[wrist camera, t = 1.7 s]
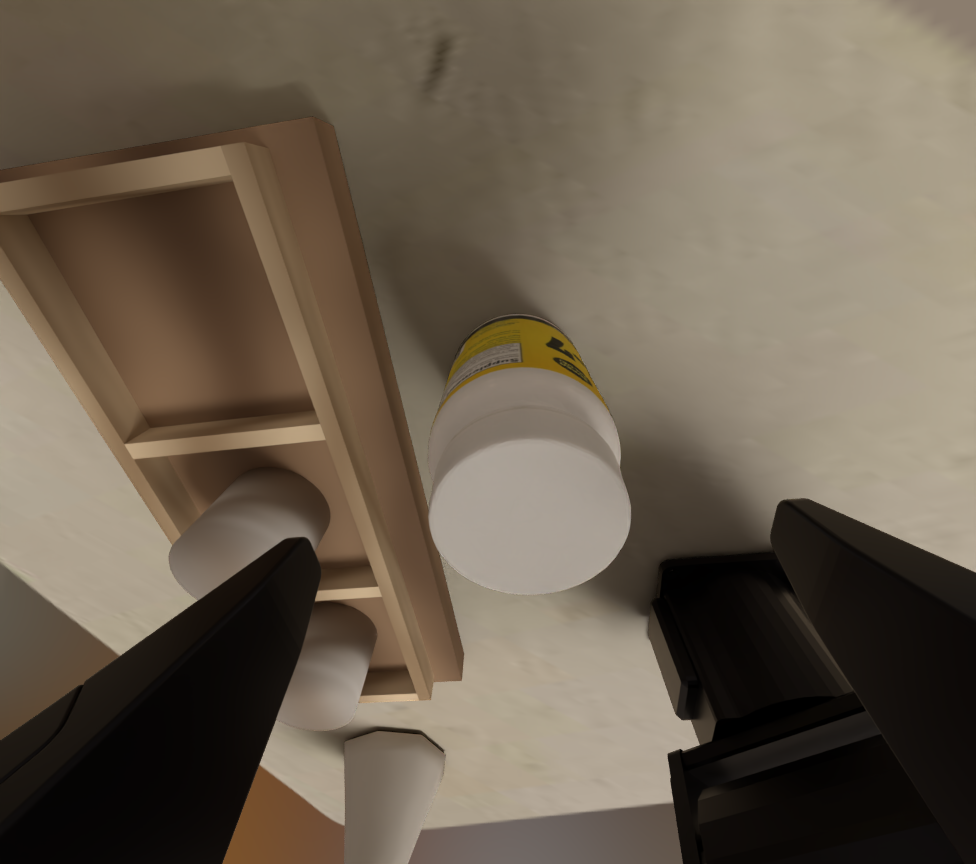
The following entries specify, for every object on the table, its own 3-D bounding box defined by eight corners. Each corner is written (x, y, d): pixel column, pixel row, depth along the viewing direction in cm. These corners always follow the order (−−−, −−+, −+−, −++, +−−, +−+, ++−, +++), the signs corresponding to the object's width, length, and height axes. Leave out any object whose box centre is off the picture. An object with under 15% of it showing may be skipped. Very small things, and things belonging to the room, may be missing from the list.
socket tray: (333, 126, 12) (235, 79, 8) (464, 654, 23) (455, 757, 19) (-5, 183, 13) (-266, 171, 9) (279, 663, 24) (229, 763, 20)
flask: (328, 730, 28) (248, 971, 19) (431, 721, 27) (397, 969, 18) (365, 782, 31) (312, 1008, 22) (459, 775, 30) (441, 1008, 21)
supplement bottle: (599, 400, 16) (685, 569, 8) (490, 449, 17) (482, 635, 10) (547, 284, 14) (598, 372, 7) (428, 348, 15) (357, 485, 8)
